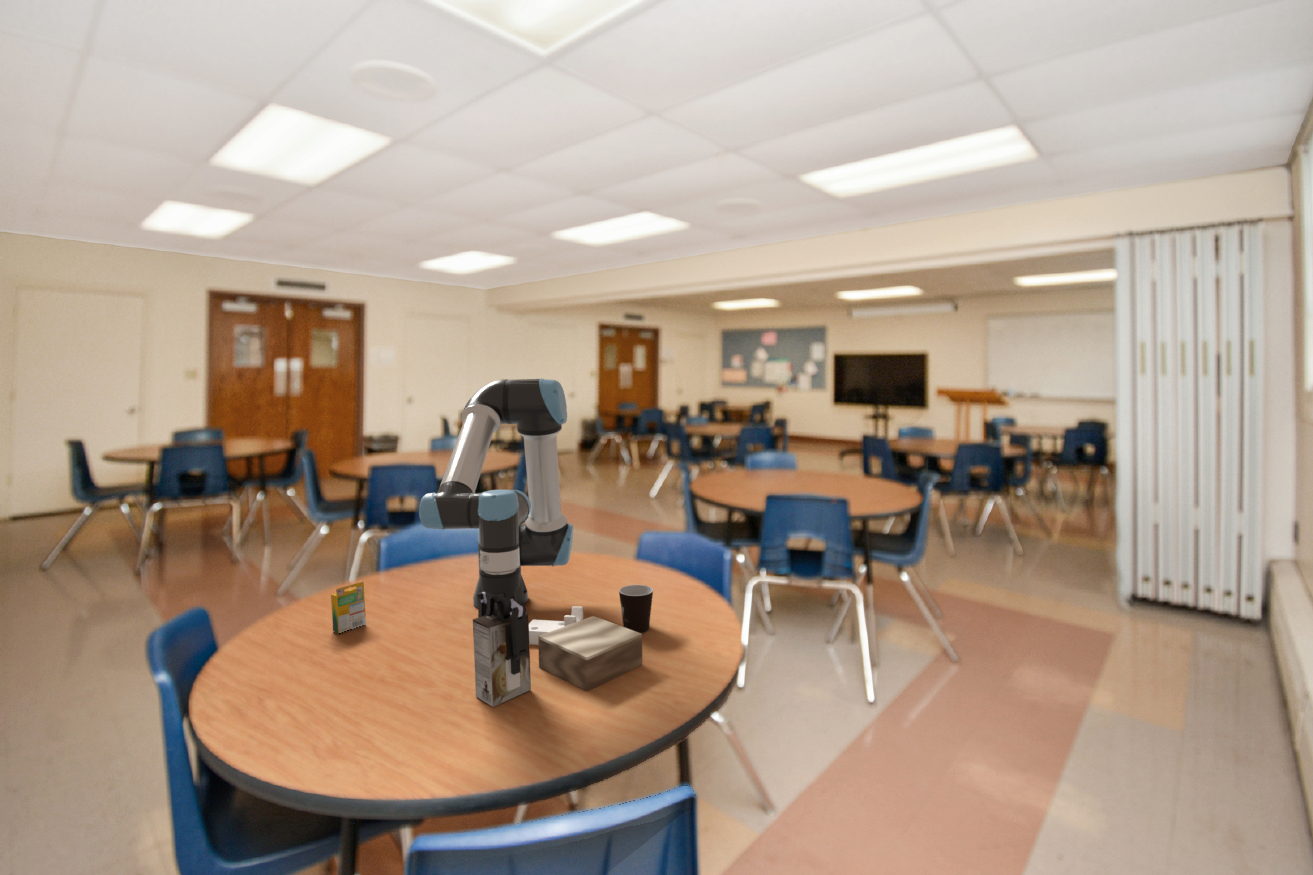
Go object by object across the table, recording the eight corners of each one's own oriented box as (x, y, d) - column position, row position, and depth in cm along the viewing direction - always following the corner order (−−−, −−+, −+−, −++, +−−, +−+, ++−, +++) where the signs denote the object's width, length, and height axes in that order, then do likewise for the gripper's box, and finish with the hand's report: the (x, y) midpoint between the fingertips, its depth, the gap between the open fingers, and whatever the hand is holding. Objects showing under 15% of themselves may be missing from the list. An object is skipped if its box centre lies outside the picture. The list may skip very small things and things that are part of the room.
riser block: (538, 667, 136) (538, 636, 135) (593, 644, 147) (593, 615, 147) (587, 690, 125) (586, 657, 124) (642, 664, 137) (641, 633, 136)
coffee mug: (649, 636, 152) (649, 596, 151) (615, 633, 154) (615, 594, 153) (658, 619, 163) (658, 582, 162) (627, 616, 165) (626, 580, 164)
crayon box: (360, 622, 162) (358, 579, 161) (366, 625, 160) (364, 581, 159) (332, 631, 156) (330, 586, 155) (338, 634, 154) (336, 589, 153)
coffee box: (513, 680, 130) (511, 605, 128) (531, 690, 125) (530, 613, 124) (474, 696, 123) (471, 618, 121) (492, 708, 118) (490, 626, 117)
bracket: (583, 636, 153) (583, 606, 152) (575, 648, 146) (574, 617, 145) (533, 633, 155) (532, 603, 155) (522, 644, 148) (522, 614, 148)
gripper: (457, 563, 126) (460, 673, 127) (512, 584, 112) (515, 706, 114) (489, 556, 131) (492, 661, 133) (545, 574, 118) (548, 691, 120)
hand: (502, 682), depth 124 cm, fingers closed on coffee box, 6 cm apart
